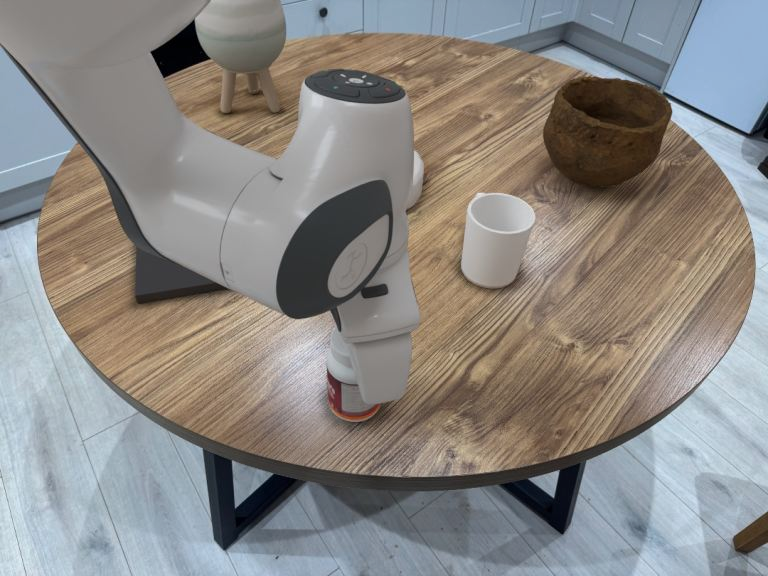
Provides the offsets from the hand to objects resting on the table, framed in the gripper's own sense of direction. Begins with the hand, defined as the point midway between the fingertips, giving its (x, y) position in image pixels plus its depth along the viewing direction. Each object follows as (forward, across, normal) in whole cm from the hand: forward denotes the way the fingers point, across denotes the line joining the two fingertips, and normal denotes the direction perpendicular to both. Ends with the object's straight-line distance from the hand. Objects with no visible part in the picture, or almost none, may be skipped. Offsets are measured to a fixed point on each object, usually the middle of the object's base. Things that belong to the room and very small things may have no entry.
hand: (357, 352), depth 60 cm
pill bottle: (+9, 0, 0) cm, 9 cm away
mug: (+9, -18, +24) cm, 31 cm away
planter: (+9, -74, -3) cm, 74 cm away
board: (+9, -32, -12) cm, 35 cm away
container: (+9, -42, +12) cm, 44 cm away
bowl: (+9, -35, +51) cm, 62 cm away
